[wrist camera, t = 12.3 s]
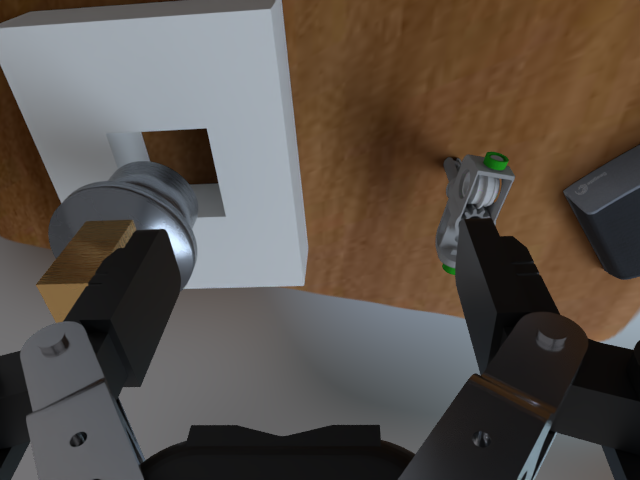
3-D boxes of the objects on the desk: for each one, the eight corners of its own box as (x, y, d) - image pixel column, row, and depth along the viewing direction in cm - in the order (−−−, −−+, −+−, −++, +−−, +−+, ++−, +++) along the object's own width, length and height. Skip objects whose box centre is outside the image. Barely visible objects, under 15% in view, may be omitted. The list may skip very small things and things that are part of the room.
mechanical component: (420, 208, 48) (436, 273, 39) (454, 107, 42) (480, 160, 34) (450, 212, 48) (471, 279, 40) (488, 113, 42) (521, 167, 34)
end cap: (72, 148, 34) (-41, 254, 25) (199, 142, 34) (137, 248, 24) (113, 253, 40) (35, 374, 30) (224, 249, 39) (182, 373, 29)
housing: (30, 11, 39) (-16, 29, 34) (280, -7, 37) (270, 8, 32) (123, 253, 53) (100, 290, 48) (308, 247, 51) (304, 285, 46)
